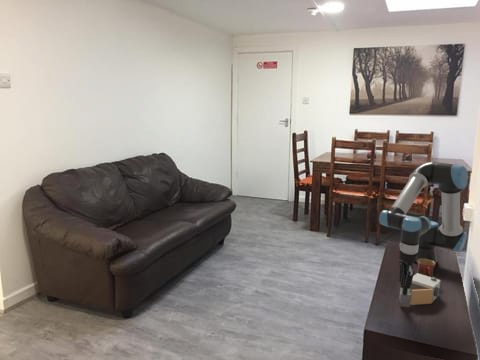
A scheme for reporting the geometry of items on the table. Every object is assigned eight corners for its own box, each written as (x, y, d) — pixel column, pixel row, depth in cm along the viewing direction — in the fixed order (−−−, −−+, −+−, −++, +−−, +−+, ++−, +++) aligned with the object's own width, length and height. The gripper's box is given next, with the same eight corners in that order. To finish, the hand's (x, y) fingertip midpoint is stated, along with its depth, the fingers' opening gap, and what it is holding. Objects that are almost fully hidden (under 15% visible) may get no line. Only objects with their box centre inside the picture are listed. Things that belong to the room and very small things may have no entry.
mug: (413, 275, 213) (415, 257, 211) (430, 277, 211) (433, 259, 209) (418, 285, 201) (420, 267, 199) (437, 287, 200) (439, 268, 197)
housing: (415, 287, 199) (417, 271, 197) (441, 296, 191) (443, 279, 189) (407, 294, 192) (409, 277, 190) (434, 303, 183) (436, 286, 182)
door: (398, 304, 182) (400, 289, 180) (431, 302, 184) (433, 287, 183) (400, 305, 181) (401, 290, 179) (433, 303, 183) (435, 289, 181)
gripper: (395, 245, 184) (390, 292, 189) (404, 257, 171) (399, 306, 176) (411, 246, 183) (406, 293, 188) (422, 257, 171) (416, 307, 176)
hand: (402, 299), depth 182 cm, fingers closed
